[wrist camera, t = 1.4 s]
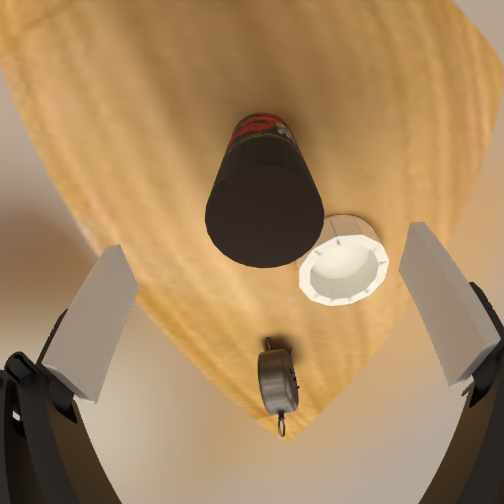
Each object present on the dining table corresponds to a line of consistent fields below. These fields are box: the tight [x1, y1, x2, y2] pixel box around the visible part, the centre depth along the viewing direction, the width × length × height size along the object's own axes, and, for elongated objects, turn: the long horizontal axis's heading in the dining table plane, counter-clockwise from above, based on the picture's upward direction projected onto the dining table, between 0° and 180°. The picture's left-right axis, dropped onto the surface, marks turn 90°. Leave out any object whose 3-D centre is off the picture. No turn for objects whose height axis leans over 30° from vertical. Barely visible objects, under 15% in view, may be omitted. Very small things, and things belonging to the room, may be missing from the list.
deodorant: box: [205, 113, 324, 268], centre depth 20 cm, size 6×6×15 cm
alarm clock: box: [258, 338, 299, 437], centre depth 40 cm, size 11×5×16 cm, turn 16°
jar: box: [296, 214, 389, 306], centre depth 32 cm, size 10×10×4 cm
